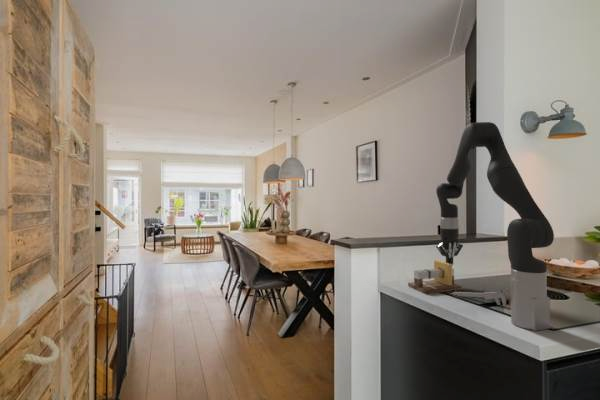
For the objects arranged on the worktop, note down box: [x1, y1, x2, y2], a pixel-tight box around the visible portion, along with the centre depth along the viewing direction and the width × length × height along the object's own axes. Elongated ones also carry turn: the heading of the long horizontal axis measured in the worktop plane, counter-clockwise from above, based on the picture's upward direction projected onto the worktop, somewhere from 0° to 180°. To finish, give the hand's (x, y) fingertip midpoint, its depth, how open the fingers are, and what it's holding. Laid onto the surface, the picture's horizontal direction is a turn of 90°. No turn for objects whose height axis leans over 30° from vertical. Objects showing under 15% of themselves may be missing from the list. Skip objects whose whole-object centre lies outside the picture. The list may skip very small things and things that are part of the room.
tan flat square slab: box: [433, 259, 453, 286], centre depth 147 cm, size 9×2×9 cm, turn 16°
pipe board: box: [407, 275, 463, 295], centre depth 146 cm, size 12×18×5 cm, turn 106°
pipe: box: [413, 268, 455, 280], centre depth 145 cm, size 3×18×3 cm, turn 106°
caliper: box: [450, 289, 507, 308], centre depth 129 cm, size 20×1×6 cm, turn 38°
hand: (449, 265), depth 151 cm, fingers closed
